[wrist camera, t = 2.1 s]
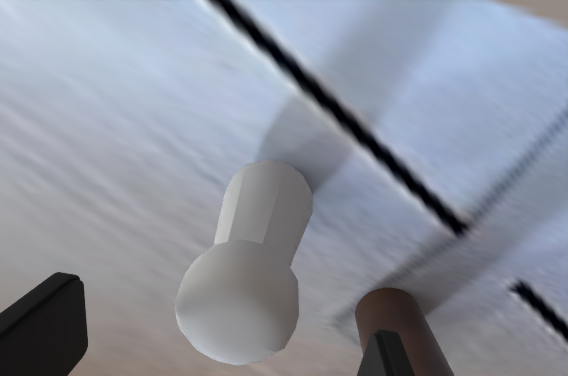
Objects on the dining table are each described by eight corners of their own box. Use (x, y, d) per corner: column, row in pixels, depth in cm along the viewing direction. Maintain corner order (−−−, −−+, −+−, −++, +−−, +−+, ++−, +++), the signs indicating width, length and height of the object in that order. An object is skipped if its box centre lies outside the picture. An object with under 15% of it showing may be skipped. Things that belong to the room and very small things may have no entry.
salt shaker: (246, 232, 23) (178, 403, 11) (222, 163, 21) (108, 272, 9) (320, 217, 22) (339, 383, 10) (301, 143, 20) (296, 233, 8)
